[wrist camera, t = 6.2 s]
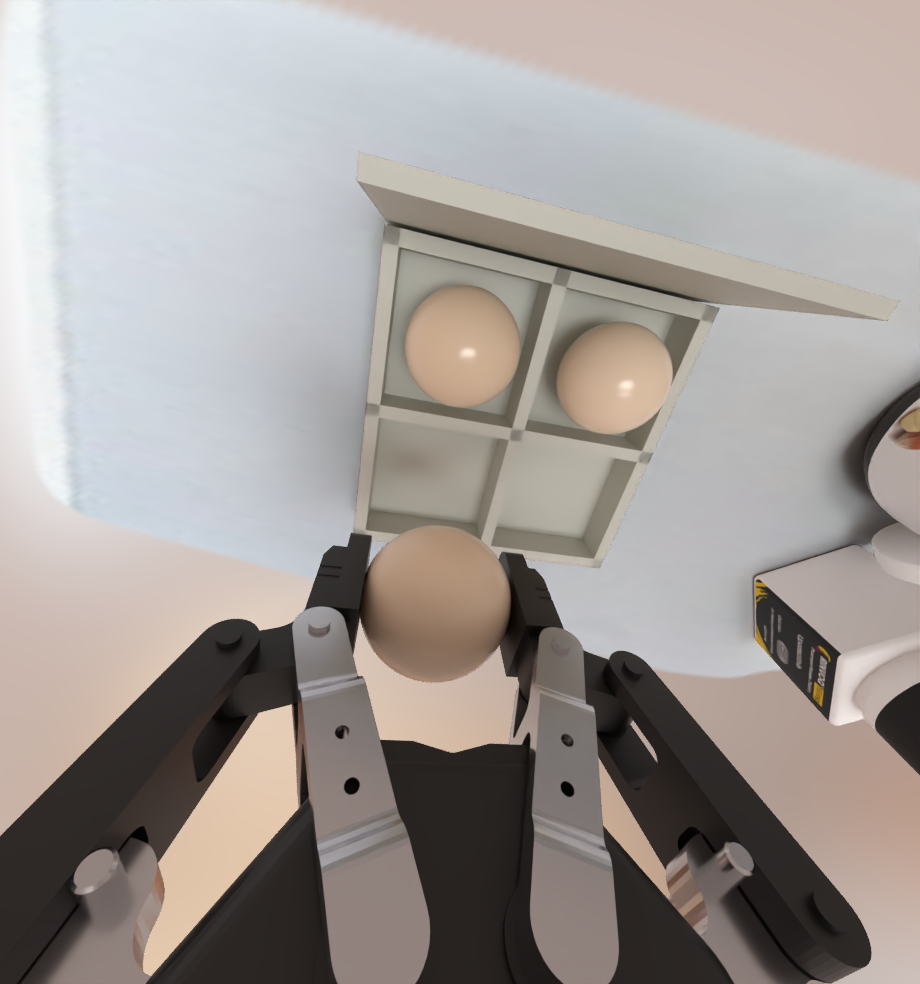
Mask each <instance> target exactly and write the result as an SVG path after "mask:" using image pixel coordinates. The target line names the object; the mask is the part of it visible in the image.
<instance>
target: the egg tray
mask: <svg viewBox="0 0 920 984" xmlns="http://www.w3.org/2000/svg"><path fill="white" fill-rule="evenodd" d="M357 182H358V183H359V185H360V186H361V187H362V189H363V190H364V191H365V193H366V194H367V195H368V197H369V198H370V199H371V201H372V202H373V204H374V205H375V206H376V208H377V209H378V210H379V212H380V213H381V214H382V216H383V217H384V219H385V220H386V221H387V223H388V224H389V225H386V224H385V225H384V235H383V245H382V255H381V265H380V275H379V285H378V295H377V304H376V314H375V324H374V334H373V344H372V354H371V364H370V374H369V384H368V394H367V404H366V413H365V423H364V433H363V443H362V453H361V463H360V473H359V483H358V493H357V503H356V513H355V522H354V532H353V533H356V534H364V535H372V540H373V541H381V542H390V541H391V540H393V539H394V538H396V537H397V536H399V535H400V534H402V533H404V532H406V531H409V530H412V529H415V528H418V527H423V526H431V525H442V526H450V527H455V528H458V529H461V530H464V531H466V532H468V533H470V534H472V535H474V536H475V537H477V538H479V539H480V540H481V541H482V542H484V543H485V544H486V545H487V546H488V547H489V548H490V549H491V550H492V551H493V552H494V553H495V555H496V556H500V554H501V553H502V552H511V553H519V554H523V556H524V558H525V559H528V560H536V561H544V562H552V563H561V564H569V565H577V566H585V567H593V568H600V567H601V565H602V562H603V560H604V558H605V556H606V554H607V552H608V549H609V547H610V545H611V543H612V541H613V539H614V536H615V534H616V532H617V530H618V528H619V526H620V523H621V521H622V519H623V517H624V515H625V512H626V510H627V508H628V506H629V504H630V502H631V499H632V497H633V495H634V493H635V491H636V489H637V486H638V484H639V482H640V480H641V478H642V476H643V473H644V471H645V469H646V467H647V465H648V463H649V460H650V458H651V456H652V454H653V452H654V449H655V447H656V445H657V443H658V441H659V439H660V436H661V434H662V432H663V430H664V428H665V426H666V423H667V421H668V419H669V417H670V415H671V413H672V410H673V408H674V406H675V404H676V402H677V400H678V397H679V395H680V393H681V391H682V389H683V387H684V384H685V382H686V380H687V378H688V376H689V373H690V371H691V369H692V367H693V365H694V363H695V360H696V358H697V356H698V354H699V352H700V350H701V347H702V345H703V343H704V341H705V339H706V337H707V334H708V332H709V330H710V328H711V326H712V324H713V321H714V319H715V317H716V315H717V313H718V311H719V308H718V307H714V306H710V305H706V304H702V303H698V302H706V303H716V304H726V305H735V306H745V307H755V308H765V309H775V310H785V311H794V312H804V313H814V314H824V315H834V316H844V317H853V318H863V319H873V320H883V321H888V319H889V318H890V316H891V315H892V313H893V311H894V310H895V308H896V307H897V305H898V304H899V302H900V301H898V300H894V299H891V298H887V297H884V296H880V295H876V294H873V293H869V292H866V291H862V290H858V289H855V288H851V287H847V286H844V285H840V284H837V283H833V282H829V281H826V280H822V279H818V278H815V277H811V276H808V275H804V274H800V273H797V272H793V271H789V270H786V269H782V268H779V267H775V266H771V265H768V264H764V263H760V262H757V261H753V260H750V259H746V258H742V257H739V256H735V255H731V254H728V253H724V252H721V251H717V250H713V249H710V248H706V247H702V246H699V245H695V244H692V243H688V242H684V241H681V240H677V239H674V238H670V237H666V236H663V235H659V234H655V233H652V232H648V231H645V230H641V229H637V228H634V227H630V226H626V225H623V224H619V223H616V222H612V221H608V220H605V219H601V218H597V217H594V216H590V215H587V214H583V213H579V212H576V211H572V210H568V209H565V208H561V207H558V206H554V205H550V204H547V203H543V202H539V201H536V200H532V199H529V198H525V197H521V196H518V195H514V194H511V193H507V192H503V191H500V190H496V189H492V188H489V187H485V186H482V185H478V184H474V183H471V182H467V181H463V180H460V179H456V178H453V177H449V176H445V175H442V174H438V173H434V172H431V171H427V170H424V169H420V168H416V167H413V166H409V165H405V164H402V163H398V162H395V161H391V160H387V159H384V158H380V157H376V156H373V155H369V154H366V153H362V152H359V155H358V169H357ZM453 285H473V286H477V287H480V288H483V289H485V290H488V291H490V292H491V293H493V294H494V295H496V296H497V297H498V298H499V299H500V300H501V301H503V302H504V303H505V305H506V306H507V307H508V308H509V310H510V311H511V313H512V314H513V316H514V318H515V321H516V323H517V326H518V329H519V334H520V344H521V350H520V358H519V363H518V366H517V369H516V372H515V374H514V376H513V378H512V379H511V381H510V382H509V384H508V385H507V386H506V388H505V389H504V390H503V391H502V392H501V393H500V394H499V395H497V396H496V397H495V398H493V399H492V400H490V401H488V402H486V403H484V404H481V405H478V406H475V407H468V408H457V407H450V406H446V405H444V404H441V403H439V402H437V401H435V400H433V399H432V398H431V397H429V396H428V395H427V394H425V393H424V392H423V391H422V390H421V389H420V387H419V386H418V385H417V384H416V382H415V381H414V379H413V377H412V376H411V373H410V371H409V369H408V365H407V362H406V357H405V335H406V331H407V327H408V324H409V321H410V319H411V317H412V315H413V313H414V312H415V310H416V309H417V307H418V306H419V305H420V304H421V303H422V302H423V301H424V300H425V299H426V298H427V297H428V296H430V295H431V294H433V293H434V292H436V291H438V290H440V289H442V288H445V287H448V286H453ZM694 301H696V302H694ZM615 321H624V322H631V323H636V324H639V325H641V326H644V327H646V328H648V329H649V330H651V331H652V332H653V333H655V334H656V335H657V336H658V337H659V338H660V339H661V340H662V342H663V343H664V345H665V346H666V348H667V350H668V352H669V354H670V357H671V361H672V368H673V378H672V384H671V388H670V391H669V394H668V396H667V398H666V400H665V402H664V404H663V405H662V407H661V408H660V409H659V410H658V412H657V413H656V414H655V415H654V416H653V417H652V418H651V419H649V420H648V421H647V422H646V423H644V424H643V425H641V426H639V427H637V428H635V429H633V430H630V431H627V432H623V433H619V434H599V433H594V432H591V431H588V430H586V429H584V428H582V427H580V426H579V425H577V424H576V423H575V422H573V421H572V420H571V419H570V418H569V417H568V415H567V414H566V413H565V411H564V410H563V408H562V406H561V404H560V401H559V398H558V394H557V388H556V379H557V372H558V368H559V365H560V362H561V360H562V358H563V356H564V354H565V352H566V351H567V349H568V348H569V346H570V345H571V344H572V343H573V342H574V341H575V340H576V339H577V338H578V337H579V336H581V335H582V334H583V333H585V332H586V331H588V330H589V329H591V328H593V327H596V326H598V325H601V324H605V323H608V322H615Z"/></svg>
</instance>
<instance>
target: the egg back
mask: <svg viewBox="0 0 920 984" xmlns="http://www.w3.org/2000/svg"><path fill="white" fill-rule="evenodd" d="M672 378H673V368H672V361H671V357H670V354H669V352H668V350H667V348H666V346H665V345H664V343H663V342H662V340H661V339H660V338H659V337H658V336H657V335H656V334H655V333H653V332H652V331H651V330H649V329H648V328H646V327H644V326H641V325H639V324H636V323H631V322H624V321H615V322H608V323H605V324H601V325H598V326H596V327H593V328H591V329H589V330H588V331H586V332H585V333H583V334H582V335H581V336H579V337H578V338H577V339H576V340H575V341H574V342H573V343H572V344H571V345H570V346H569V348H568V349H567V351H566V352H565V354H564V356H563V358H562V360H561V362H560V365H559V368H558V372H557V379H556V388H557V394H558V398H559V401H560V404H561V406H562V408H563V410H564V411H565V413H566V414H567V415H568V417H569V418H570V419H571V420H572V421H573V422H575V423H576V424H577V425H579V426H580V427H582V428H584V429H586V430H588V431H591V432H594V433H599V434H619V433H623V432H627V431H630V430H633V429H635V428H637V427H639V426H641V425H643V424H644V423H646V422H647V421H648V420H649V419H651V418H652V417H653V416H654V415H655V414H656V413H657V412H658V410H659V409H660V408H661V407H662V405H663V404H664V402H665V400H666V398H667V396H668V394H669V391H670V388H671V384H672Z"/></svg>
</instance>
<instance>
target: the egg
mask: <svg viewBox="0 0 920 984" xmlns="http://www.w3.org/2000/svg"><path fill="white" fill-rule="evenodd" d="M510 614H511V591H510V586H509V582H508V578H507V575H506V573H505V571H504V568H503V566H502V564H501V563H500V561H499V559H498V558H497V556H496V555H495V553H494V552H493V551H492V550H491V549H490V548H489V547H488V546H487V545H486V544H485V543H484V542H482V541H481V540H480V539H479V538H477V537H475V536H474V535H472V534H470V533H468V532H466V531H464V530H461V529H458V528H455V527H450V526H442V525H431V526H423V527H418V528H415V529H412V530H409V531H406V532H404V533H402V534H400V535H399V536H397V537H396V538H394V539H393V540H391V541H390V542H389V543H387V544H386V545H385V546H384V547H383V548H382V549H381V550H380V552H379V553H378V554H377V555H376V556H375V558H374V559H373V560H372V562H371V564H370V565H369V567H368V569H367V571H366V574H365V580H364V586H363V592H362V599H361V606H360V619H361V624H362V628H363V631H364V634H365V637H366V638H367V640H368V642H369V644H370V646H371V648H372V649H373V651H374V652H375V653H376V655H377V656H378V657H379V658H380V659H381V660H382V661H383V662H384V663H385V664H386V665H387V666H389V667H390V668H391V669H393V670H394V671H395V672H397V673H399V674H401V675H403V676H405V677H408V678H410V679H413V680H417V681H422V682H430V683H437V682H447V681H451V680H455V679H458V678H461V677H463V676H466V675H468V674H469V673H471V672H473V671H475V670H476V669H478V668H479V667H480V666H482V665H483V664H484V663H485V662H486V661H487V660H488V659H489V658H490V657H491V656H492V655H493V653H494V652H495V651H496V649H497V647H498V646H499V645H500V643H501V641H502V639H503V637H504V635H505V633H506V630H507V627H508V624H509V619H510Z"/></svg>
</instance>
